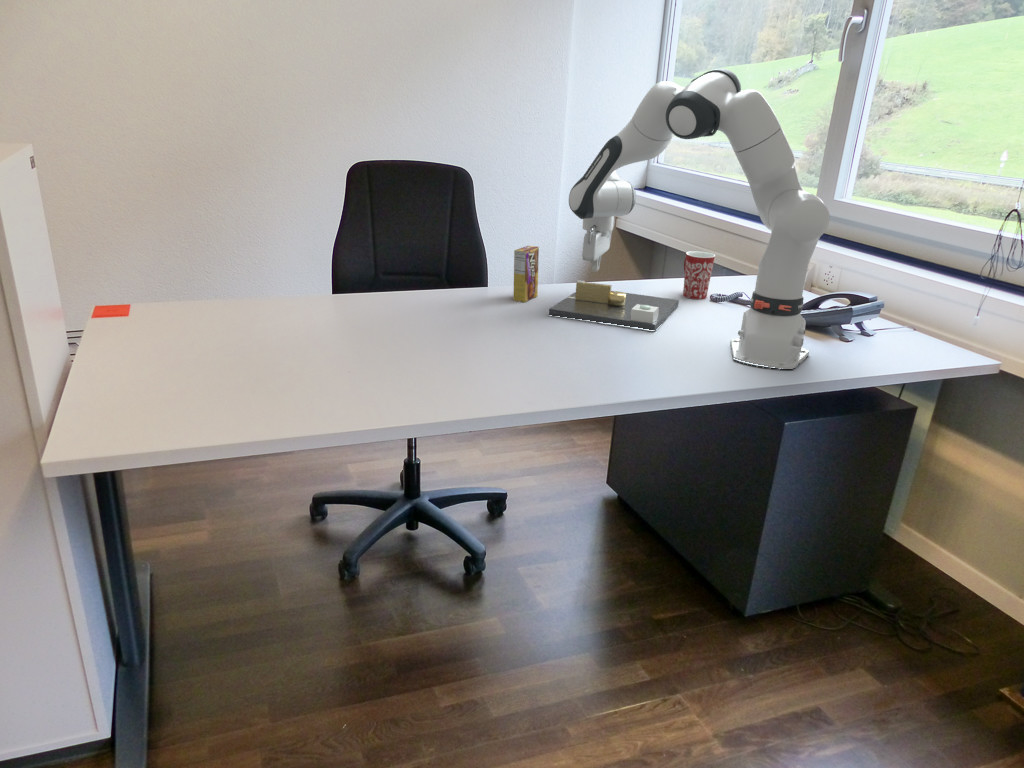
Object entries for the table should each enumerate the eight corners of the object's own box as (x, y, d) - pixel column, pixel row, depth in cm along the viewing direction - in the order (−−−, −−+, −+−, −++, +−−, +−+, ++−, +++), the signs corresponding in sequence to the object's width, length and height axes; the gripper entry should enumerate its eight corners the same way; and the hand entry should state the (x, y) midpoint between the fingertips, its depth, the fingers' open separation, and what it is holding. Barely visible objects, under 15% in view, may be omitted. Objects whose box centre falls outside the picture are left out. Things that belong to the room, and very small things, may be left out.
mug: (714, 299, 231) (720, 256, 226) (688, 300, 229) (693, 257, 224) (696, 289, 243) (702, 248, 238) (671, 290, 241) (675, 249, 236)
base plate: (654, 332, 196) (656, 311, 194) (548, 315, 207) (549, 296, 205) (678, 306, 222) (680, 288, 220) (583, 293, 233) (584, 275, 231)
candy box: (525, 294, 228) (527, 245, 223) (537, 296, 226) (540, 246, 221) (511, 300, 221) (513, 249, 215) (524, 302, 219) (527, 251, 213)
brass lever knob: (626, 302, 215) (628, 284, 213) (623, 306, 210) (624, 288, 209) (578, 296, 219) (579, 279, 217) (573, 300, 215) (575, 282, 213)
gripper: (600, 229, 204) (597, 278, 209) (616, 219, 222) (612, 265, 227) (578, 227, 206) (575, 276, 211) (595, 217, 224) (592, 263, 229)
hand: (595, 270), depth 219 cm, fingers closed
